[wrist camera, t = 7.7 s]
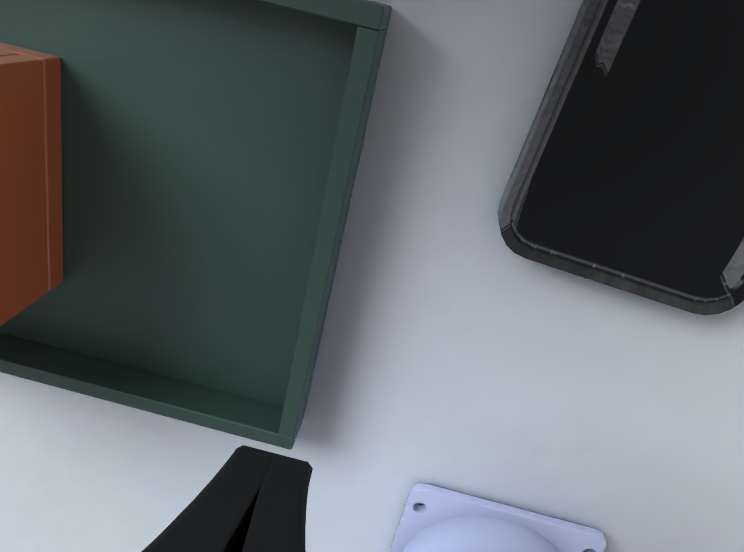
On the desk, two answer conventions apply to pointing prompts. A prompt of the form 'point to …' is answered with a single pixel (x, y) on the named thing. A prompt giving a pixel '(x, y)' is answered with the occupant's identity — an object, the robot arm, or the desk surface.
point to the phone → (640, 155)
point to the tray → (198, 200)
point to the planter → (29, 178)
